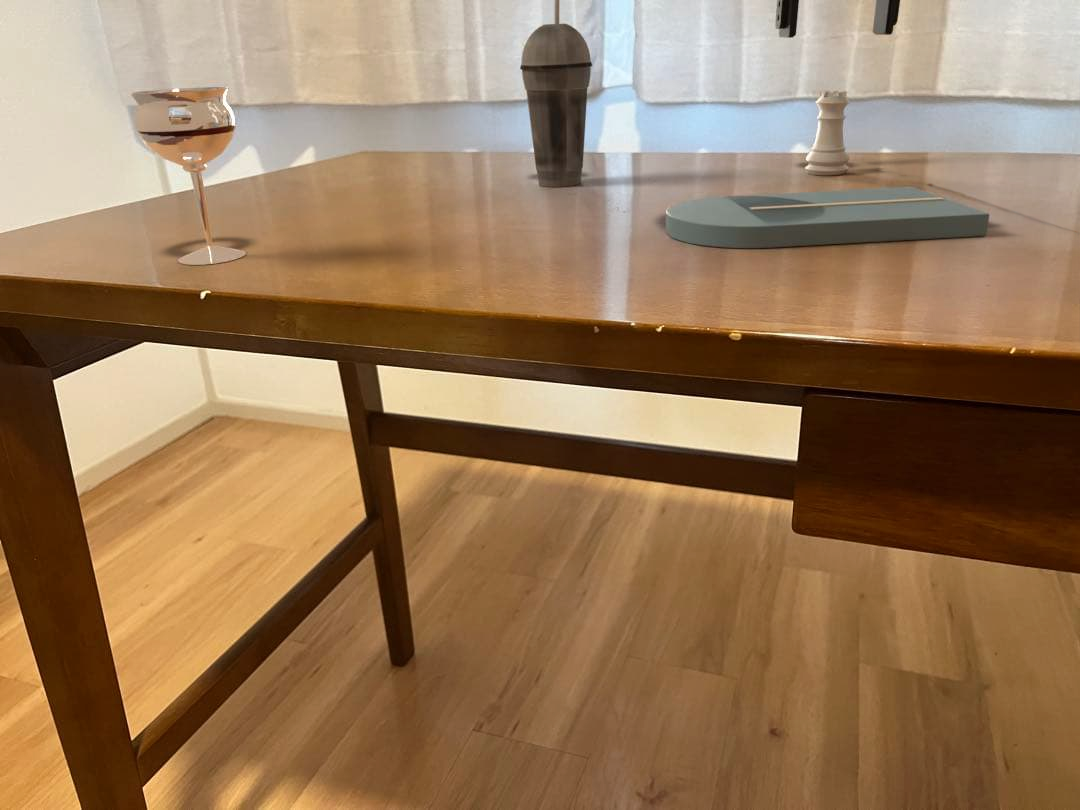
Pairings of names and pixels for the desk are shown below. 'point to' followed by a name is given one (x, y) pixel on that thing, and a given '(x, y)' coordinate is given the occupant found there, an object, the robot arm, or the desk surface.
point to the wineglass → (189, 144)
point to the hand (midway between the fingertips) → (834, 35)
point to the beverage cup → (557, 100)
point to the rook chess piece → (829, 136)
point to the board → (822, 218)
